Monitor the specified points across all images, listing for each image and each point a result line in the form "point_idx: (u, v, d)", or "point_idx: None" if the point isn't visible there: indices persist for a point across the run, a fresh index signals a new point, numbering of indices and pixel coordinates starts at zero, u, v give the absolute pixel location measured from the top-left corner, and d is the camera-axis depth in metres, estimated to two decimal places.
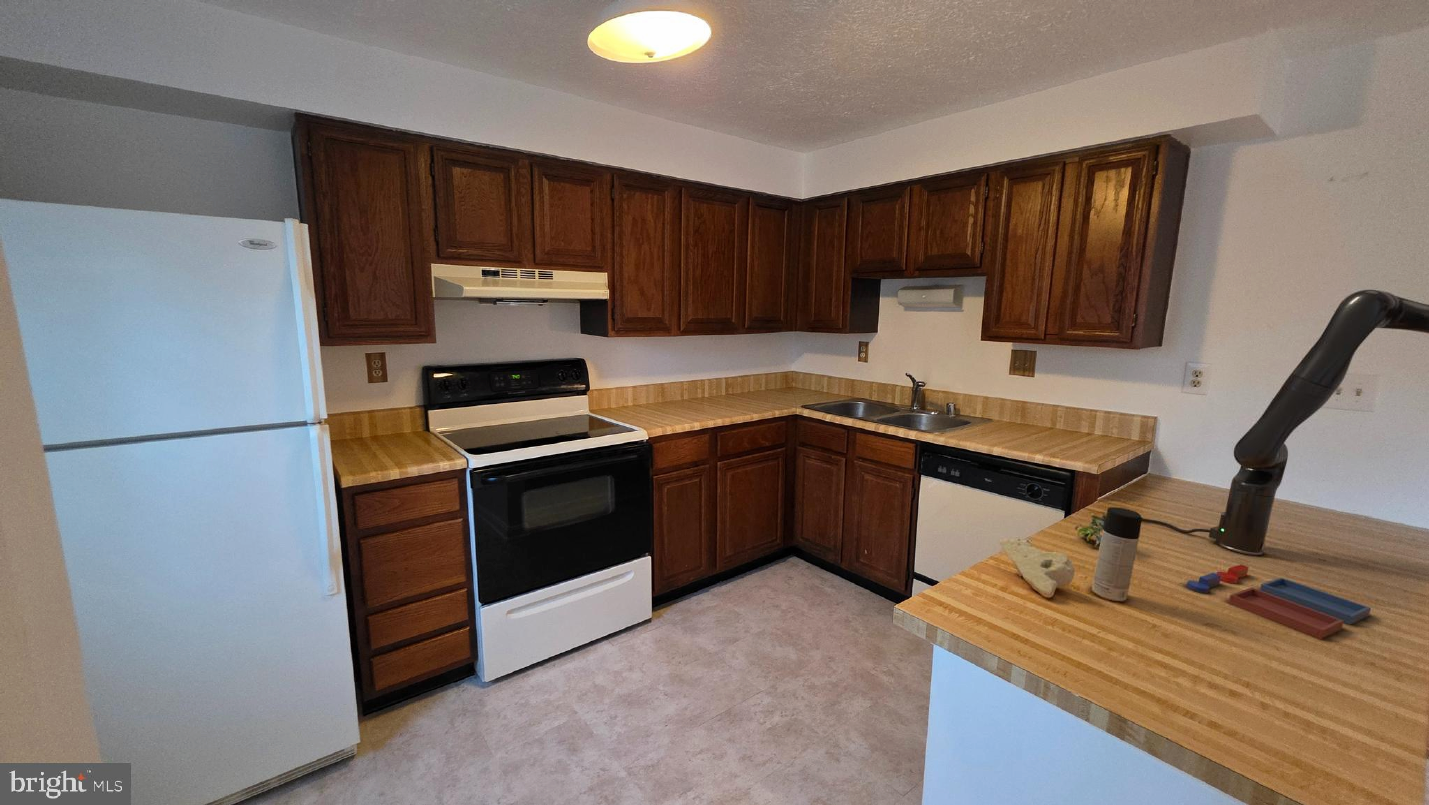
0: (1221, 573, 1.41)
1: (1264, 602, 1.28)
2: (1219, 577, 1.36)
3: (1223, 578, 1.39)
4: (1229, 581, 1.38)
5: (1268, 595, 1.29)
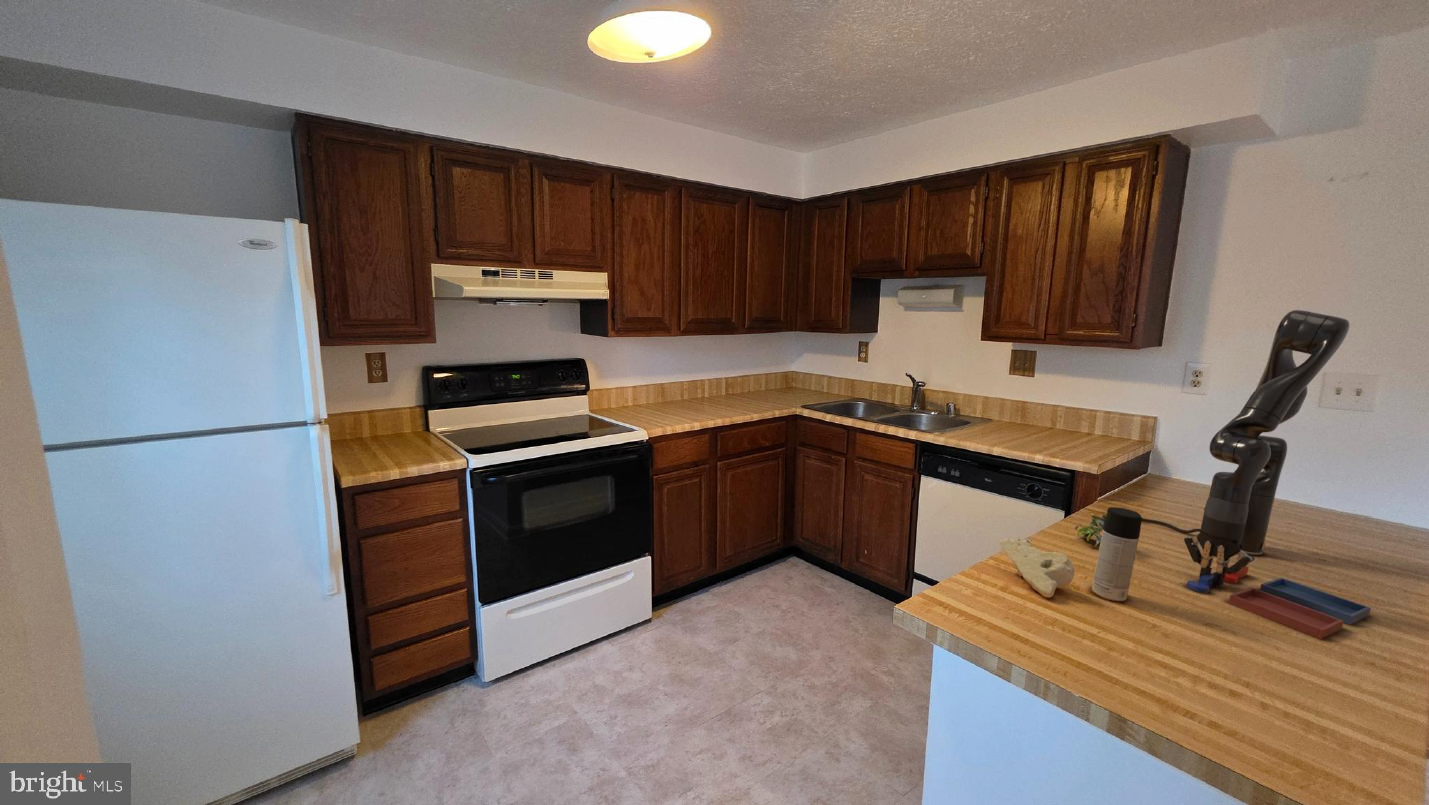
0: None
1: (1264, 602, 1.28)
2: None
3: None
4: (1229, 581, 1.38)
5: (1268, 595, 1.29)
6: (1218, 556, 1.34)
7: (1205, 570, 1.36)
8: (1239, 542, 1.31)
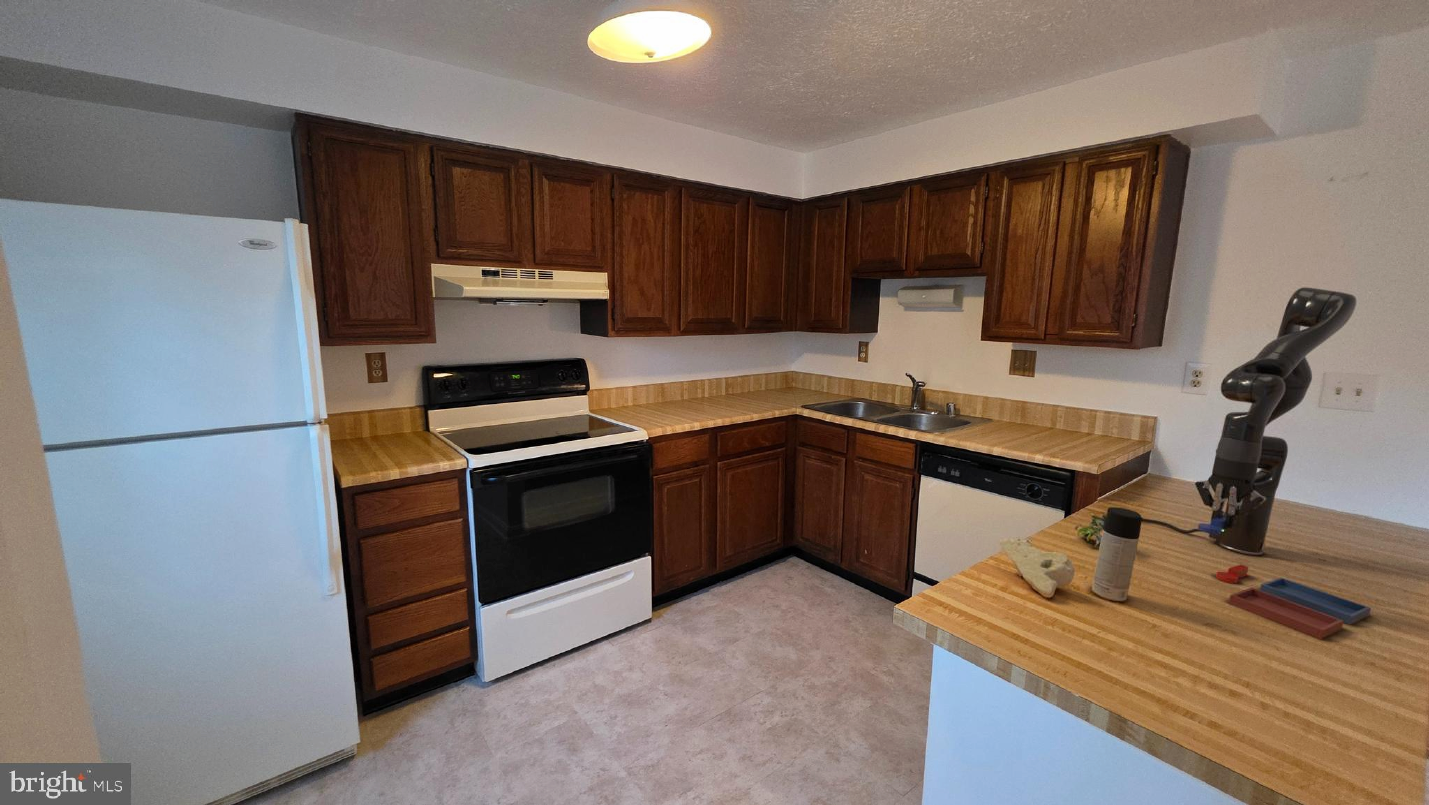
0: (1221, 573, 1.41)
1: (1264, 602, 1.28)
2: None
3: (1223, 578, 1.39)
4: (1229, 581, 1.38)
5: (1268, 595, 1.29)
6: (1230, 497, 1.31)
7: (1217, 513, 1.34)
8: (1252, 482, 1.29)
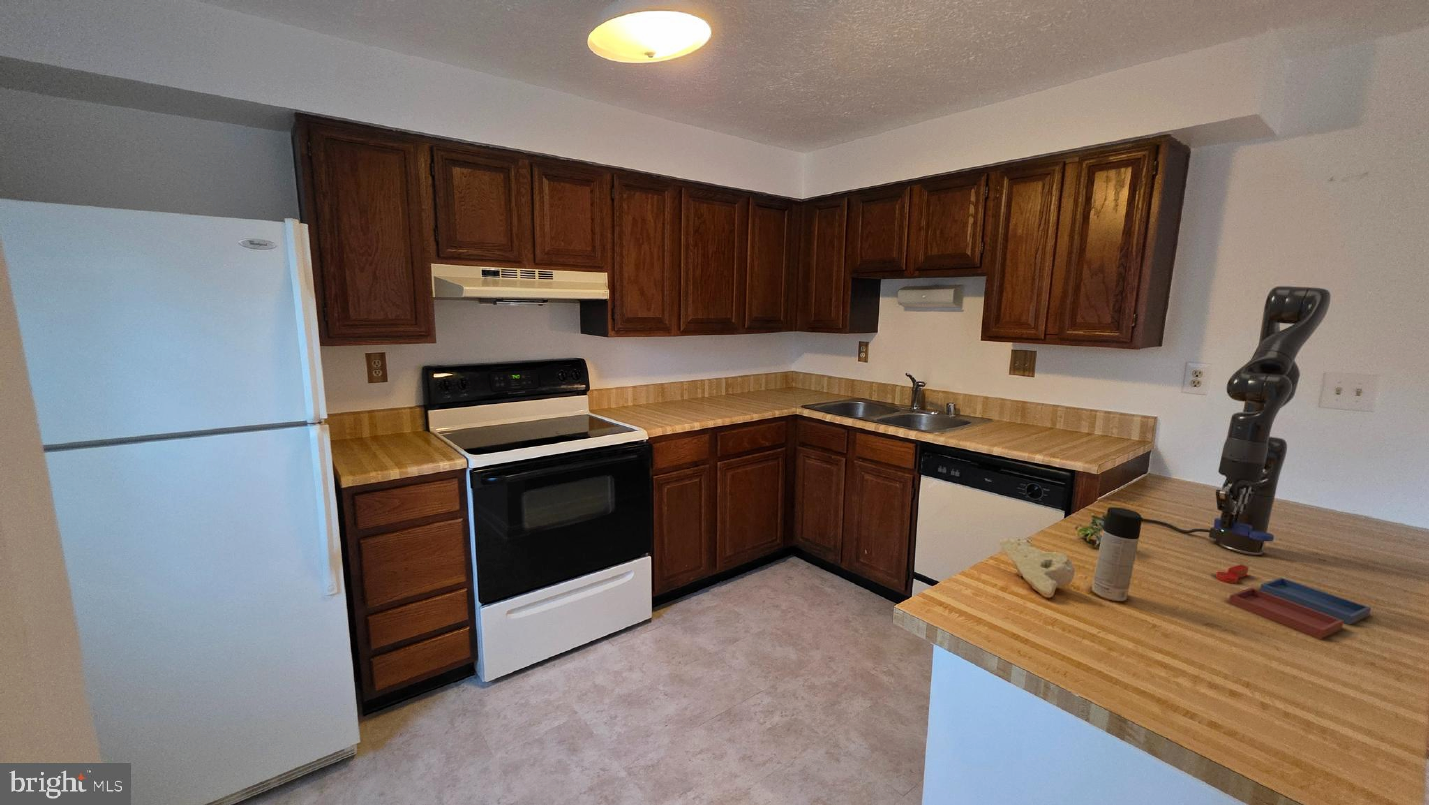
0: (1221, 573, 1.41)
1: (1264, 602, 1.28)
2: None
3: (1223, 578, 1.39)
4: (1229, 581, 1.38)
5: (1268, 595, 1.29)
6: (1246, 498, 1.32)
7: (1234, 516, 1.32)
8: None
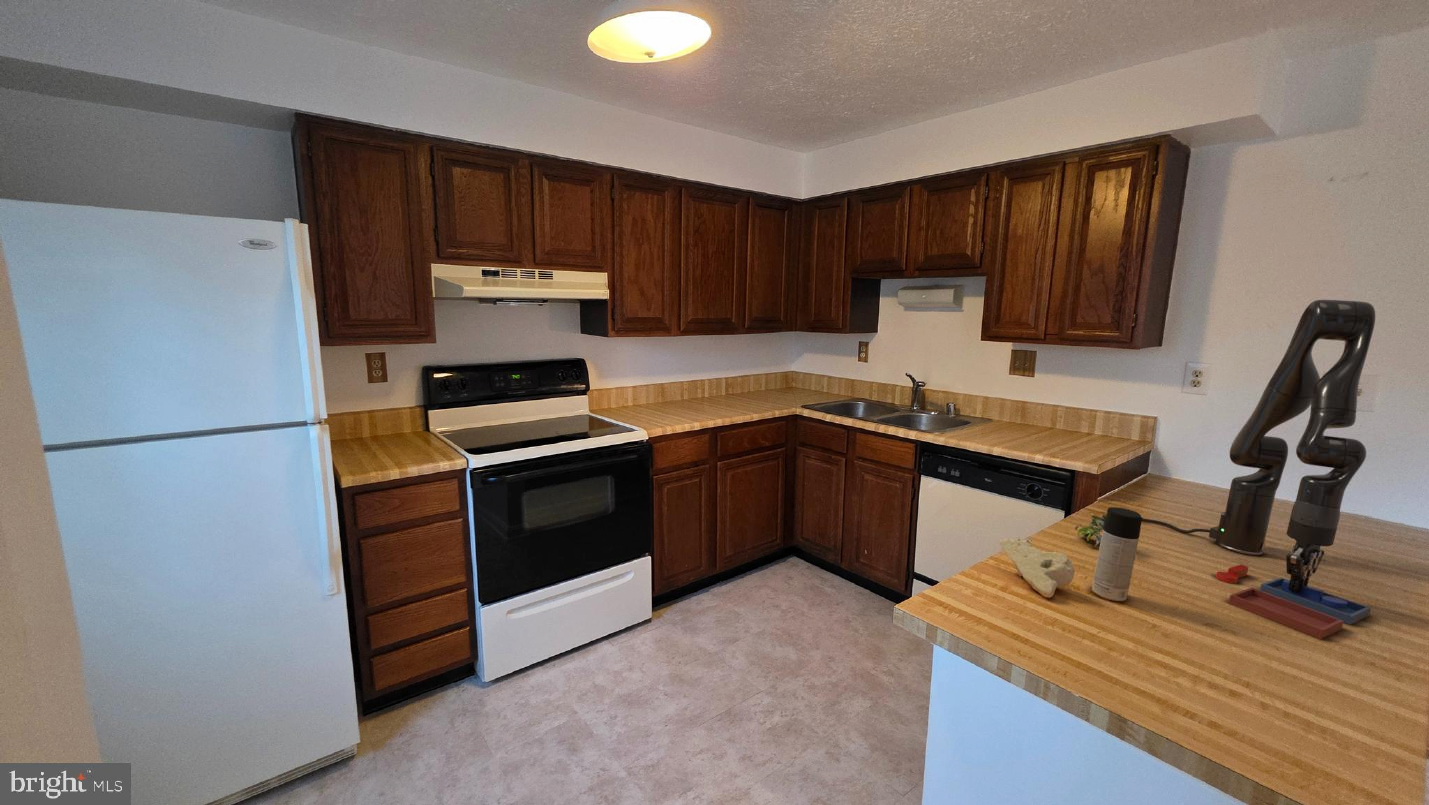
0: (1221, 573, 1.41)
1: (1264, 602, 1.28)
2: None
3: (1223, 578, 1.39)
4: (1229, 581, 1.38)
5: (1268, 595, 1.29)
6: (1316, 562, 1.30)
7: (1304, 580, 1.30)
8: None
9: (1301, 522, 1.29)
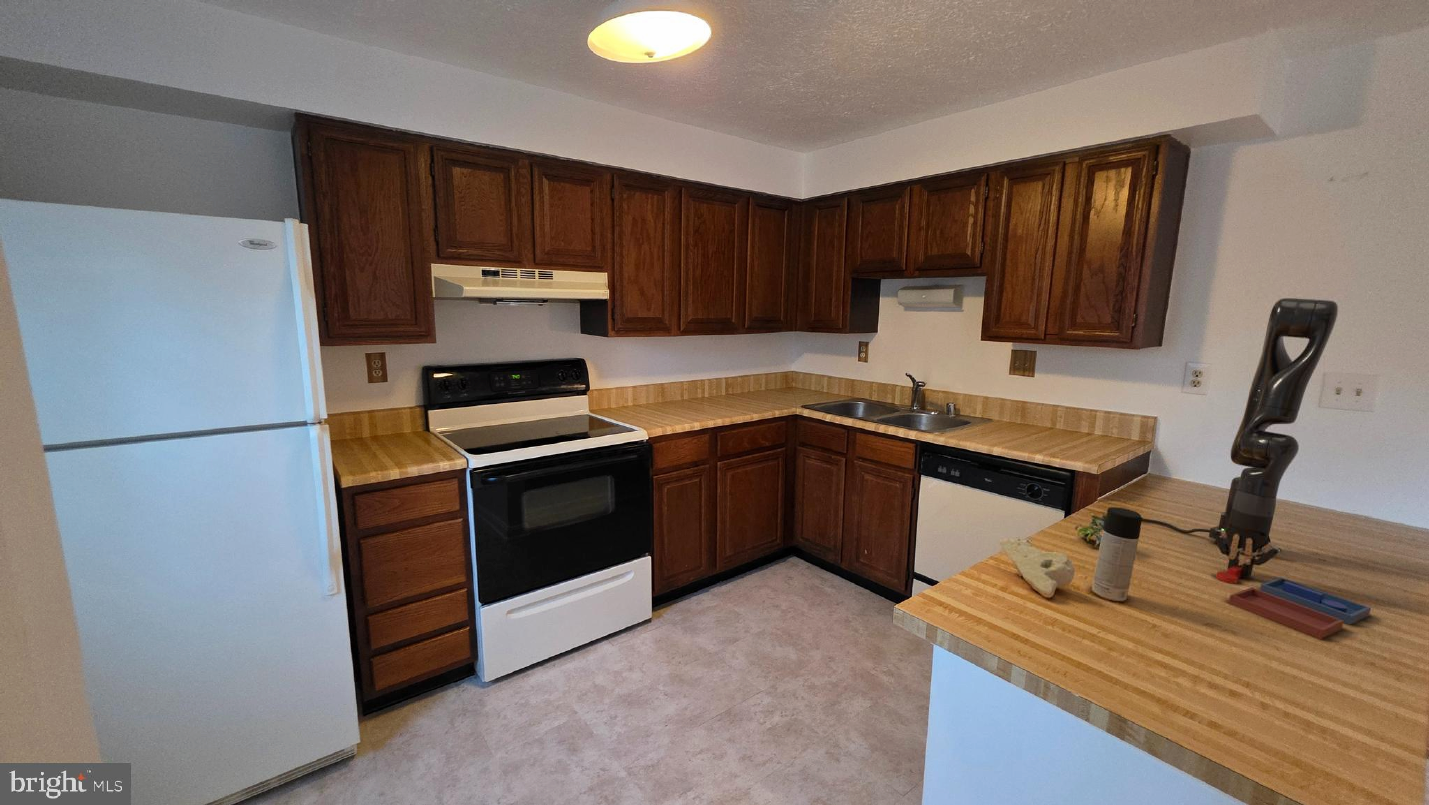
0: (1221, 573, 1.41)
1: (1264, 602, 1.28)
2: None
3: (1223, 578, 1.39)
4: (1229, 581, 1.38)
5: (1268, 595, 1.29)
6: (1246, 548, 1.40)
7: (1233, 562, 1.43)
8: (1267, 535, 1.37)
9: None
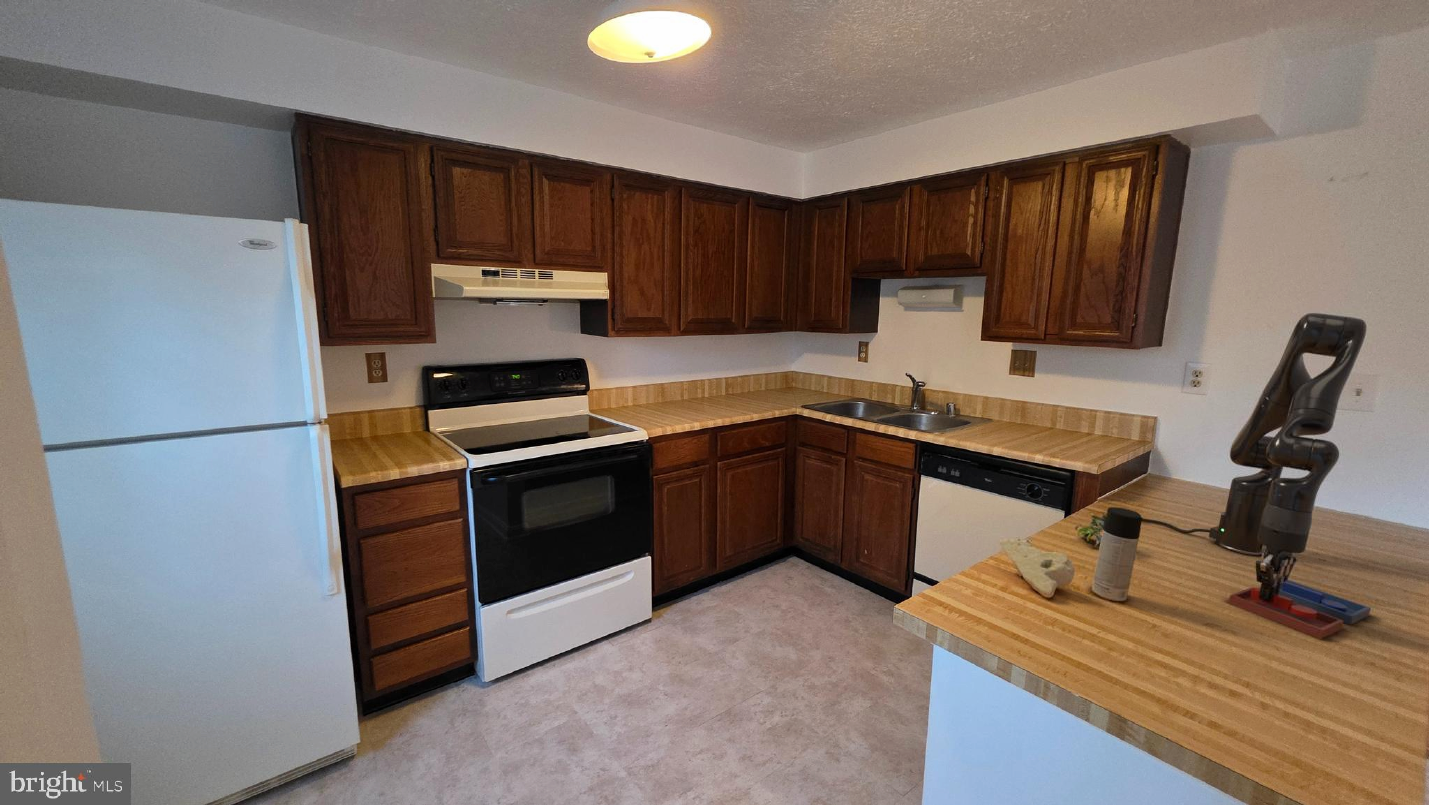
0: (1303, 610, 1.20)
1: None
2: None
3: (1316, 615, 1.19)
4: None
5: None
6: (1287, 569, 1.23)
7: (1275, 589, 1.24)
8: None
9: (1271, 527, 1.22)
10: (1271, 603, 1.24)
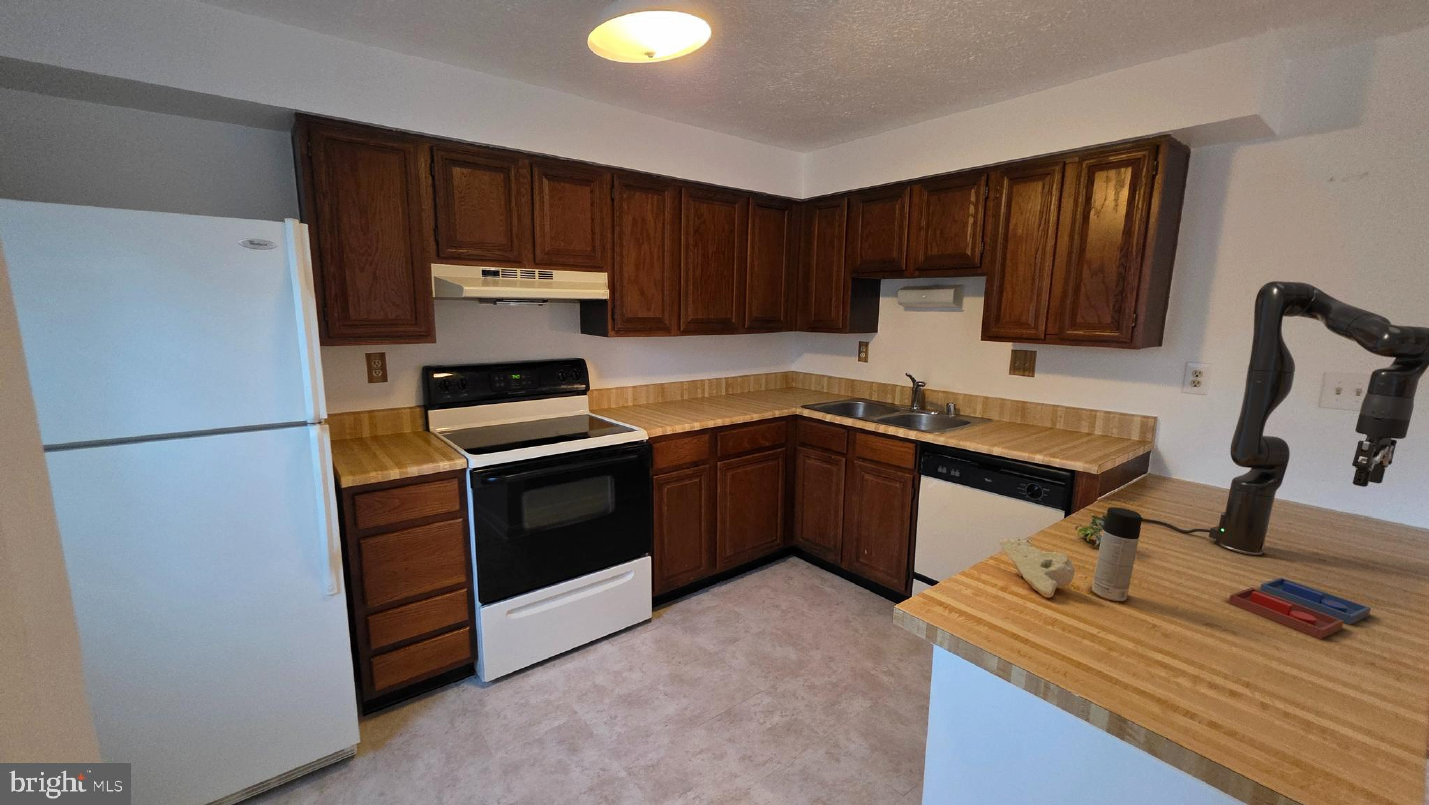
0: (1302, 616, 1.20)
1: None
2: None
3: (1315, 622, 1.19)
4: None
5: (1268, 595, 1.29)
6: (1389, 455, 1.28)
7: (1370, 473, 1.26)
8: None
9: (1372, 415, 1.26)
10: (1270, 608, 1.25)
